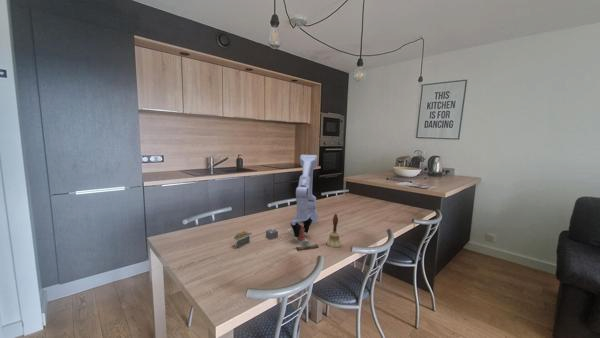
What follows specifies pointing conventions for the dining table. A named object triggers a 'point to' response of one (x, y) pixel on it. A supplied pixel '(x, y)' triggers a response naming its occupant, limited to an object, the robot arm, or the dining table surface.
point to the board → (303, 243)
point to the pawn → (301, 234)
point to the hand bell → (334, 235)
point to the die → (272, 234)
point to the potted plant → (242, 238)
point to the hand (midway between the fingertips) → (301, 234)
